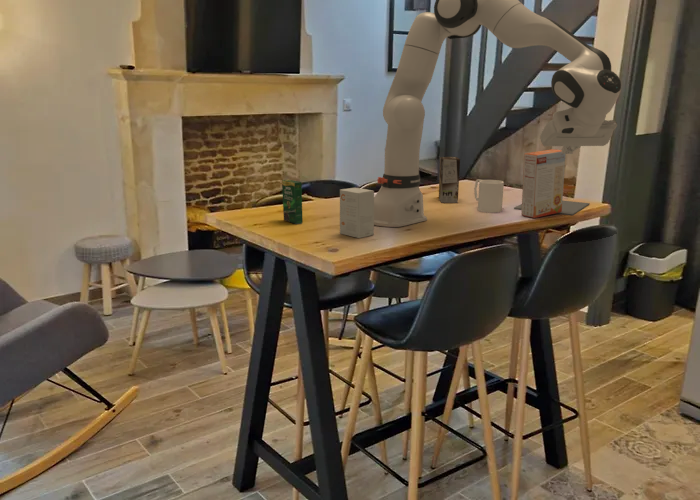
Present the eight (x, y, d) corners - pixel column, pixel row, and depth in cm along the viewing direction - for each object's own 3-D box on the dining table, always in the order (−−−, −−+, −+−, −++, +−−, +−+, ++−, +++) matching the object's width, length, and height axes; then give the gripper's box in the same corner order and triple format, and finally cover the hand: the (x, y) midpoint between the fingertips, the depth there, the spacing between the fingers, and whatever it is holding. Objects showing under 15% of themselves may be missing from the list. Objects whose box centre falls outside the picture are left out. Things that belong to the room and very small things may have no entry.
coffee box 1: (282, 220, 197) (281, 179, 194) (290, 219, 199) (289, 178, 195) (295, 224, 191) (294, 182, 188) (303, 223, 192) (302, 181, 189)
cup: (482, 205, 223) (483, 177, 220) (506, 211, 213) (508, 182, 210) (465, 207, 218) (466, 179, 216) (489, 213, 209) (491, 184, 206)
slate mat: (572, 215, 206) (572, 214, 205) (513, 209, 216) (514, 207, 216) (589, 204, 225) (589, 203, 225) (534, 199, 236) (535, 197, 235)
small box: (374, 235, 178) (374, 190, 174) (358, 238, 174) (358, 192, 170) (355, 230, 184) (355, 187, 180) (339, 233, 179) (339, 189, 176)
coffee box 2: (458, 203, 227) (460, 159, 223) (441, 202, 227) (442, 159, 223) (454, 198, 236) (457, 156, 232) (438, 198, 236) (439, 156, 232)
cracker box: (547, 209, 212) (552, 148, 206) (562, 212, 207) (567, 150, 201) (519, 215, 205) (523, 152, 199) (533, 218, 200) (538, 154, 194)
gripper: (616, 112, 177) (596, 143, 189) (548, 112, 175) (532, 144, 187) (623, 129, 174) (602, 160, 186) (553, 129, 172) (536, 160, 184)
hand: (566, 152), depth 187 cm, fingers closed
